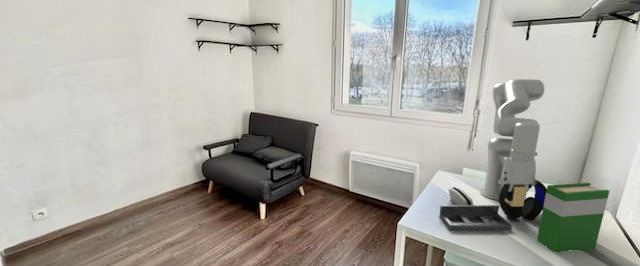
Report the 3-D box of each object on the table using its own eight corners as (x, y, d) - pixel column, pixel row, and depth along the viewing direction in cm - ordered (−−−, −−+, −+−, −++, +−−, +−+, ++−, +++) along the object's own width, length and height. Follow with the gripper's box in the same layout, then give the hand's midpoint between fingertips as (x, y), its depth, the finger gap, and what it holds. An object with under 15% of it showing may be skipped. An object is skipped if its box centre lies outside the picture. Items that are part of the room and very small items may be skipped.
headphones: (505, 223, 126) (511, 181, 121) (495, 215, 132) (501, 175, 127) (544, 221, 127) (552, 179, 122) (532, 214, 133) (540, 174, 129)
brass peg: (515, 200, 113) (519, 182, 111) (523, 206, 109) (526, 187, 107) (504, 200, 113) (507, 182, 111) (511, 206, 109) (514, 187, 107)
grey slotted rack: (495, 217, 131) (497, 205, 129) (511, 230, 120) (513, 218, 119) (439, 216, 131) (440, 205, 130) (449, 230, 121) (450, 217, 119)
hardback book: (575, 237, 115) (588, 182, 110) (594, 248, 108) (609, 190, 102) (536, 241, 113) (547, 185, 107) (553, 252, 106) (566, 193, 100)
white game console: (479, 214, 133) (474, 196, 131) (469, 218, 133) (465, 200, 131) (459, 198, 149) (455, 182, 147) (450, 201, 149) (446, 185, 147)
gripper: (537, 152, 109) (529, 195, 114) (493, 152, 110) (487, 195, 114) (552, 158, 102) (543, 204, 107) (505, 158, 103) (498, 204, 107)
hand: (514, 199), depth 111 cm, fingers closed on brass peg, 4 cm apart
